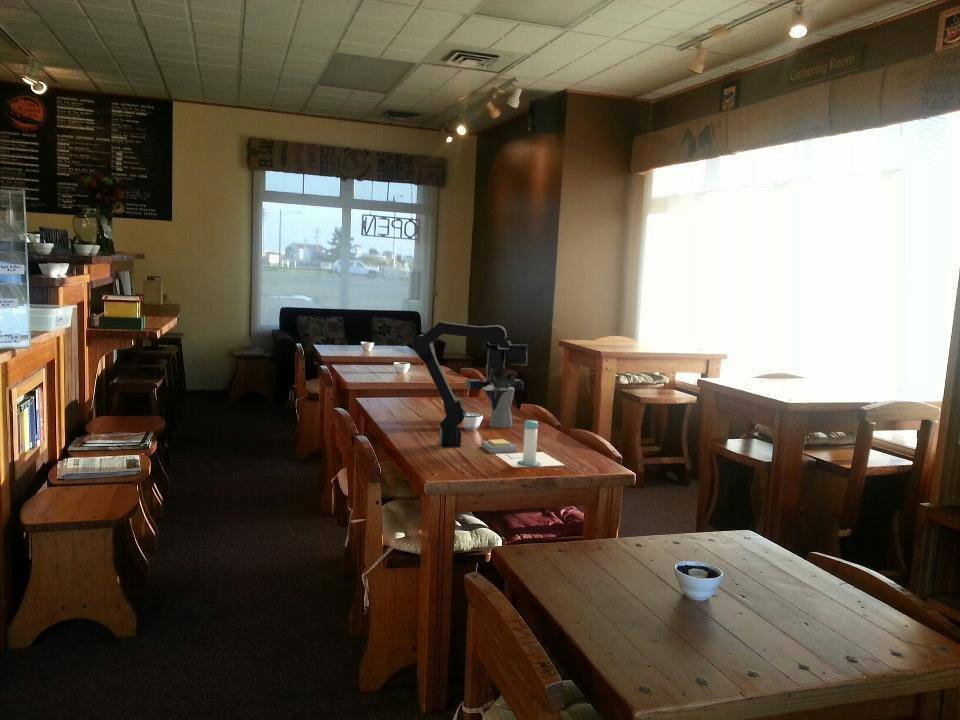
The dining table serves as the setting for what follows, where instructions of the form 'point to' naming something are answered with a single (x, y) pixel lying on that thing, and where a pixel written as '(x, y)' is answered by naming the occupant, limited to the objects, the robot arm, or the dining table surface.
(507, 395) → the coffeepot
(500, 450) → the button housing
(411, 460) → the dining table surface
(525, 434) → the marker
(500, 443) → the button
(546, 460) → the drawing board
